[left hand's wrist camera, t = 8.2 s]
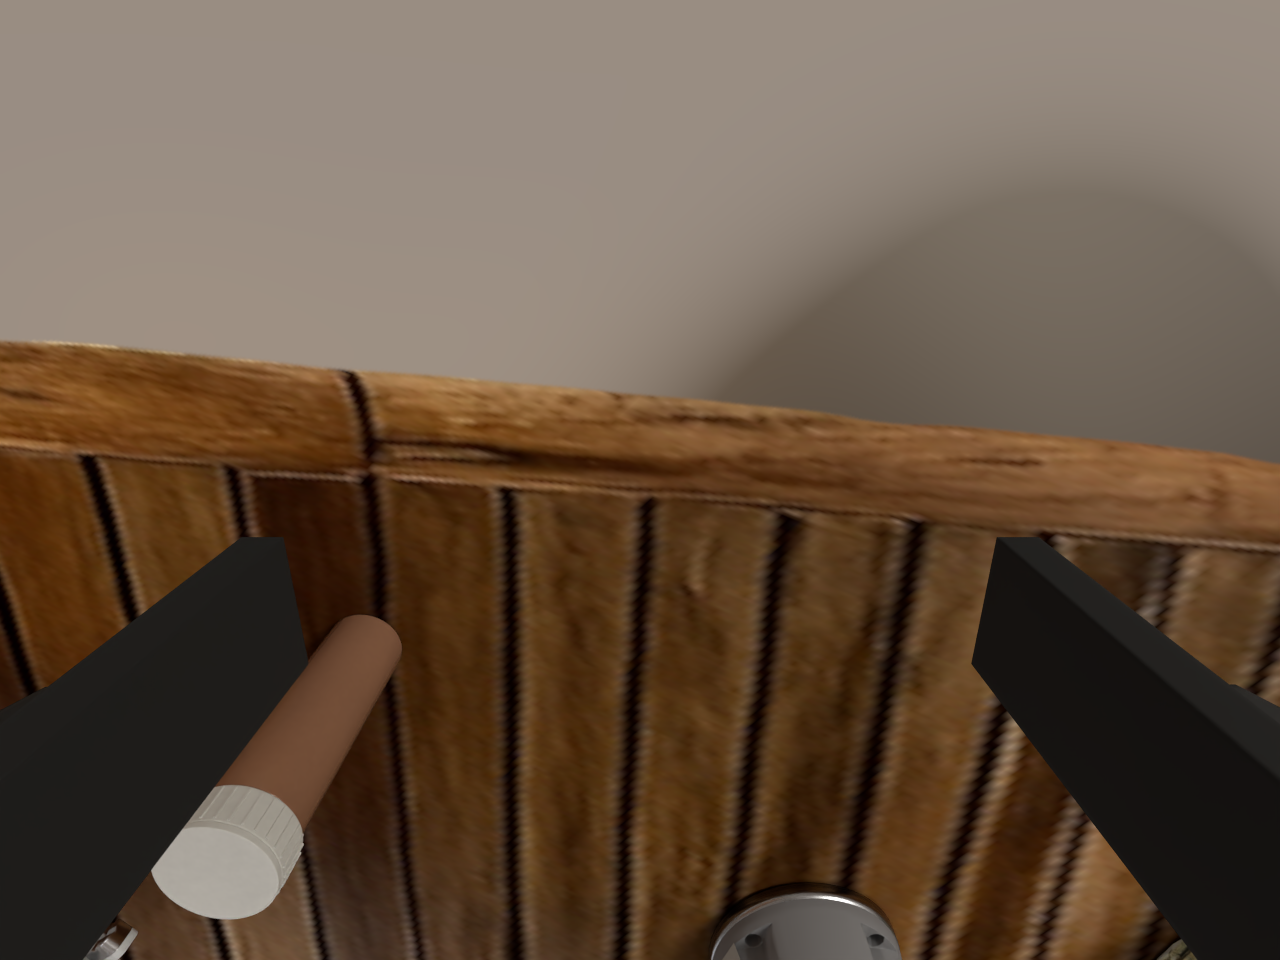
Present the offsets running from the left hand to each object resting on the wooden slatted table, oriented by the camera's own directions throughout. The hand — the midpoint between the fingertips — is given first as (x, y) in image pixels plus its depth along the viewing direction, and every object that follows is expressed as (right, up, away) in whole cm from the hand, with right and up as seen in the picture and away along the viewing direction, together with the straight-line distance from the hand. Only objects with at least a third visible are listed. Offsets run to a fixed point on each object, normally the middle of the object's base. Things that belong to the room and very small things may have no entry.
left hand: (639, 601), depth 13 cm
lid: (-19, -15, +17) cm, 29 cm away
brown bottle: (-19, -9, +33) cm, 39 cm away
